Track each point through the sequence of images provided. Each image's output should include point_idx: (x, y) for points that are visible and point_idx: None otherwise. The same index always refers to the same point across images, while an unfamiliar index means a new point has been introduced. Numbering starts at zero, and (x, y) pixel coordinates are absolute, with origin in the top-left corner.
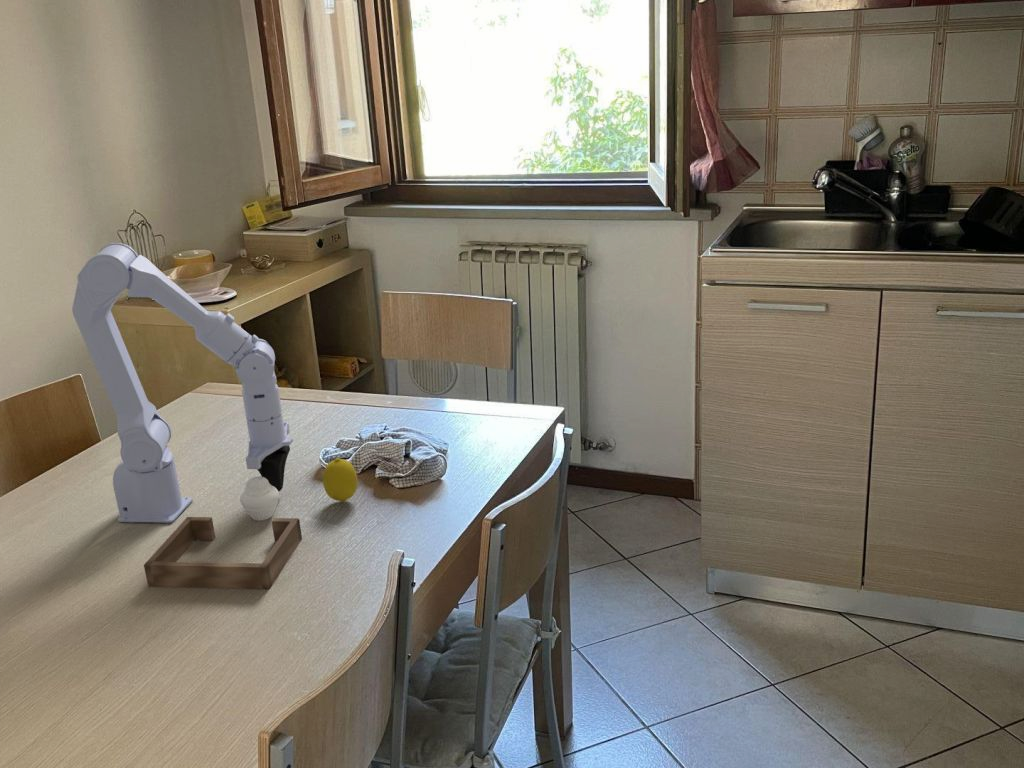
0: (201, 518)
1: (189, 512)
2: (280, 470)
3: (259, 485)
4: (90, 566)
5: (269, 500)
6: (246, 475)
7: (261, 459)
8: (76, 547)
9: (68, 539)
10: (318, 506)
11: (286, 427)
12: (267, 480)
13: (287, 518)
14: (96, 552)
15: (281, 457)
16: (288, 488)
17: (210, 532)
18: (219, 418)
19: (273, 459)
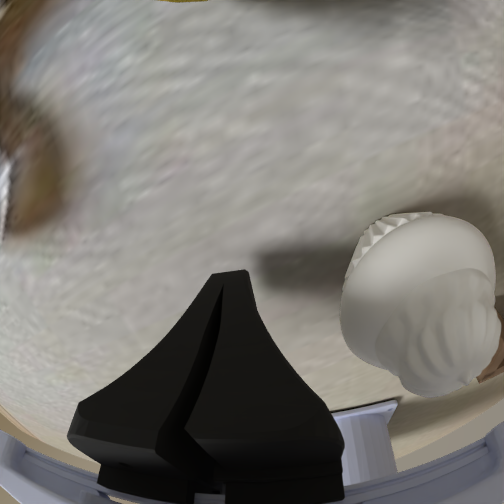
0: (499, 358)
1: (350, 400)
2: (246, 342)
3: (500, 329)
4: (485, 389)
5: (484, 238)
6: None
7: (422, 478)
8: (432, 425)
9: (409, 439)
10: (281, 44)
11: (6, 489)
12: (449, 332)
13: None
14: (454, 407)
15: (297, 439)
16: (156, 263)
17: (498, 315)
18: (49, 429)
19: (340, 451)
